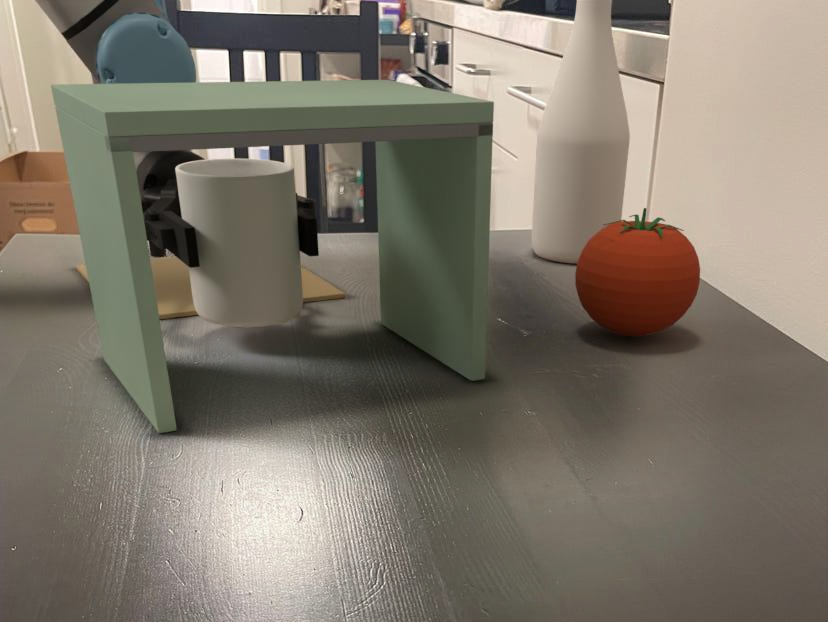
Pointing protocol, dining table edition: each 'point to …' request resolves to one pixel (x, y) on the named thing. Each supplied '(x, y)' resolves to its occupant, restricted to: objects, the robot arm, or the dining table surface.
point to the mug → (243, 240)
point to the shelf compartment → (279, 126)
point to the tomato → (637, 276)
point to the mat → (178, 294)
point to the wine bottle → (581, 141)
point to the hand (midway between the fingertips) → (254, 242)
